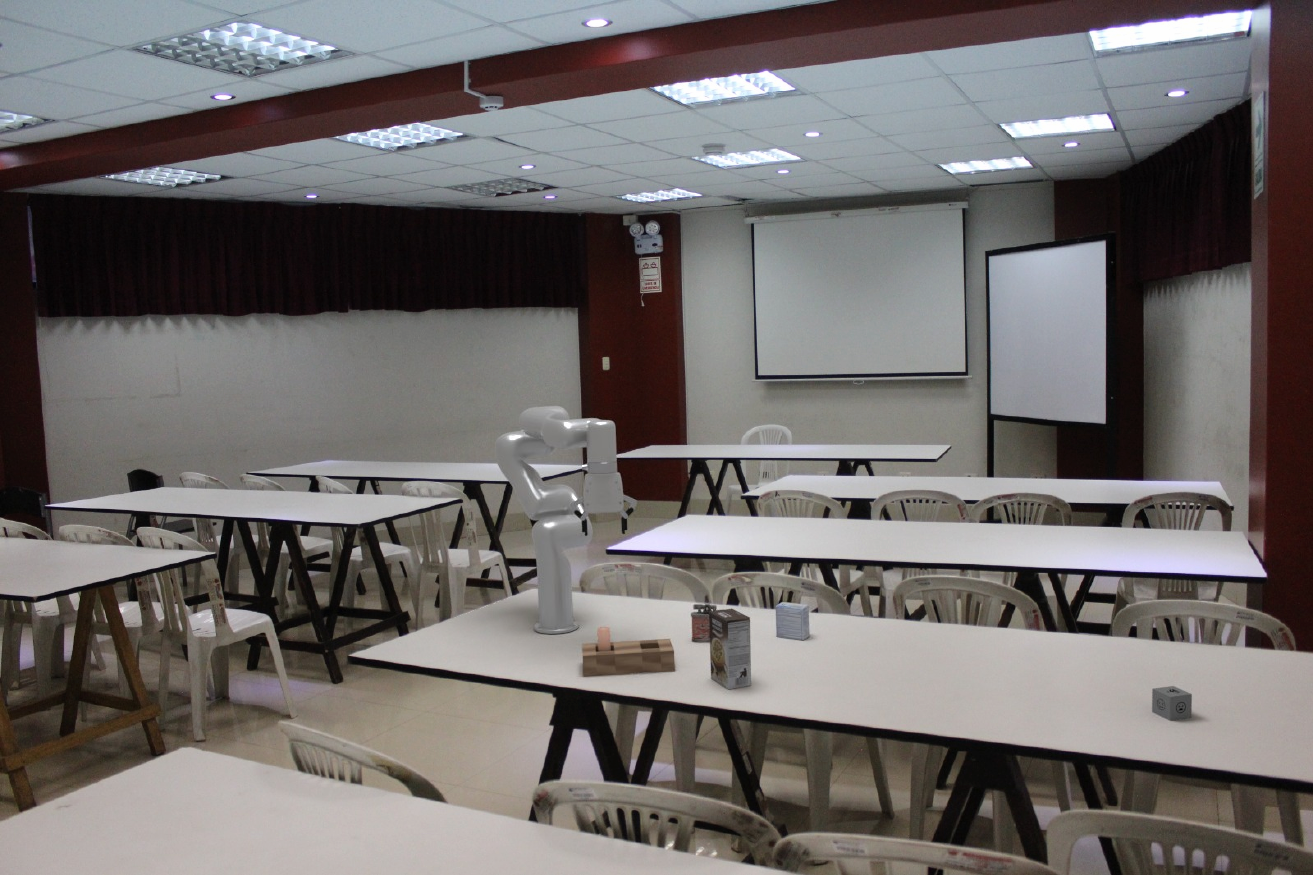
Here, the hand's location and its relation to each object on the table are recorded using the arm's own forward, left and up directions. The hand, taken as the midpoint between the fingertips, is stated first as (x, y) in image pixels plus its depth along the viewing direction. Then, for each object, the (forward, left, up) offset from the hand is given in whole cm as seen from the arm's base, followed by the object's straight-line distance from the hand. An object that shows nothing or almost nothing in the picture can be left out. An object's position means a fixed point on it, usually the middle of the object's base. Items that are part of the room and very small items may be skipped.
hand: (604, 534), depth 252 cm
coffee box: (+31, +27, -31) cm, 51 cm away
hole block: (+16, +4, -30) cm, 34 cm away
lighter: (-2, +26, -31) cm, 40 cm away
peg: (+16, -2, -30) cm, 34 cm away
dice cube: (+67, +112, -31) cm, 133 cm away
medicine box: (-1, +49, -31) cm, 58 cm away
